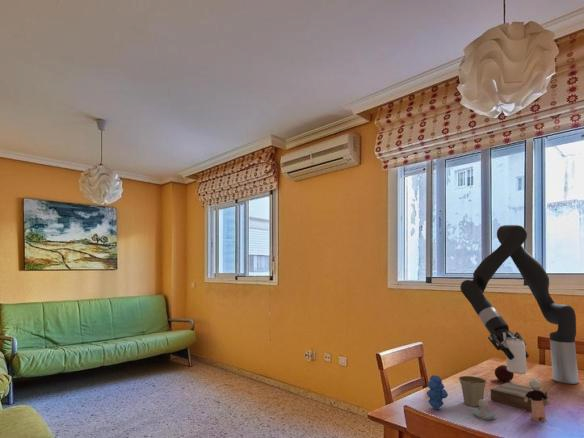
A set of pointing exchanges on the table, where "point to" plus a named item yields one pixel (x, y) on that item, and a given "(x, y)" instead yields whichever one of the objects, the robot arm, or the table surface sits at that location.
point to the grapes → (436, 392)
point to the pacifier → (483, 411)
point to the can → (516, 356)
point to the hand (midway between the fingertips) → (519, 357)
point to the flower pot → (472, 389)
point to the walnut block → (513, 395)
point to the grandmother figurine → (536, 400)
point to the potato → (503, 373)
